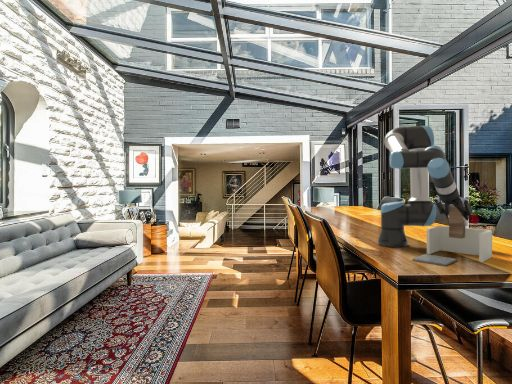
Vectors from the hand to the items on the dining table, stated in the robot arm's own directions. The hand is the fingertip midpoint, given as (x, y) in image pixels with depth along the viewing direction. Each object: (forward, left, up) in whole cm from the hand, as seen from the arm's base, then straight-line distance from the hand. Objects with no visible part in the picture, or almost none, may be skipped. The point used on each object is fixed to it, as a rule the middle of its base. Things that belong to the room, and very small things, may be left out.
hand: (459, 222), depth 149 cm
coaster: (+12, -15, -15) cm, 25 cm away
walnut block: (+2, -2, -6) cm, 7 cm away
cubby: (+1, -1, -15) cm, 15 cm away
